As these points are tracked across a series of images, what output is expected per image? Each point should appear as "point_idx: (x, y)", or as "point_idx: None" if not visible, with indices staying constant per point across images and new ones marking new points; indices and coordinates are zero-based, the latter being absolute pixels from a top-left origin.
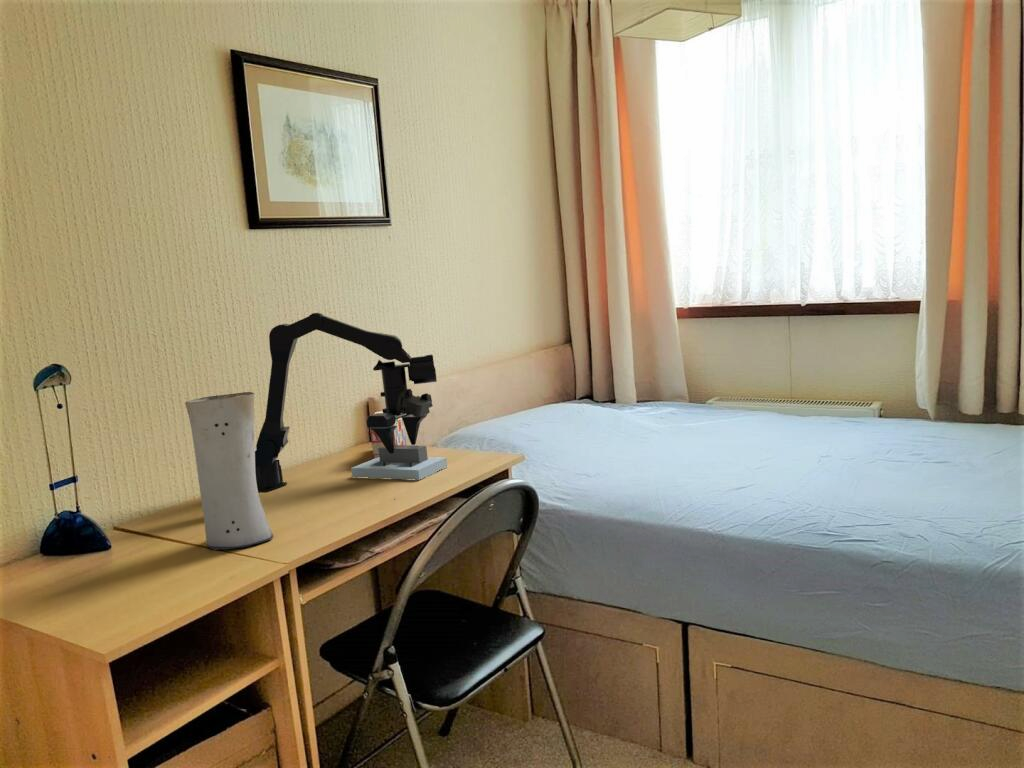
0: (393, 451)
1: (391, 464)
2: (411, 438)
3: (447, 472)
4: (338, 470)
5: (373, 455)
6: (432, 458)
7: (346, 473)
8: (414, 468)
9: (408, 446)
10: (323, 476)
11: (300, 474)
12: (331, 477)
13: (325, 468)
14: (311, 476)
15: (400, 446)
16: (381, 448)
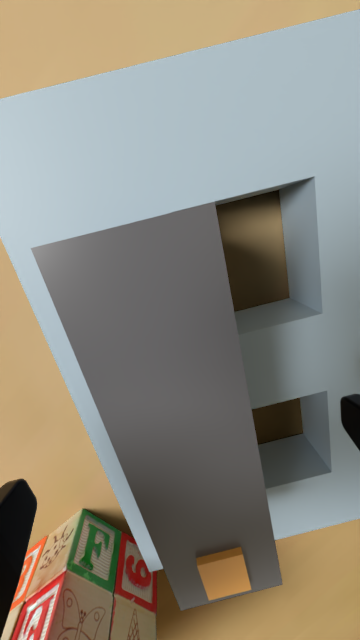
0: (357, 400)
1: (276, 386)
2: (1, 565)
3: (89, 14)
4: (264, 590)
5: (156, 605)
6: (38, 231)
7: (290, 540)
8: (340, 104)
9: (154, 425)
10: (341, 569)
11: (333, 635)
12: (348, 539)
13: (255, 636)
14: (348, 596)
15: (182, 492)
16: (278, 566)
